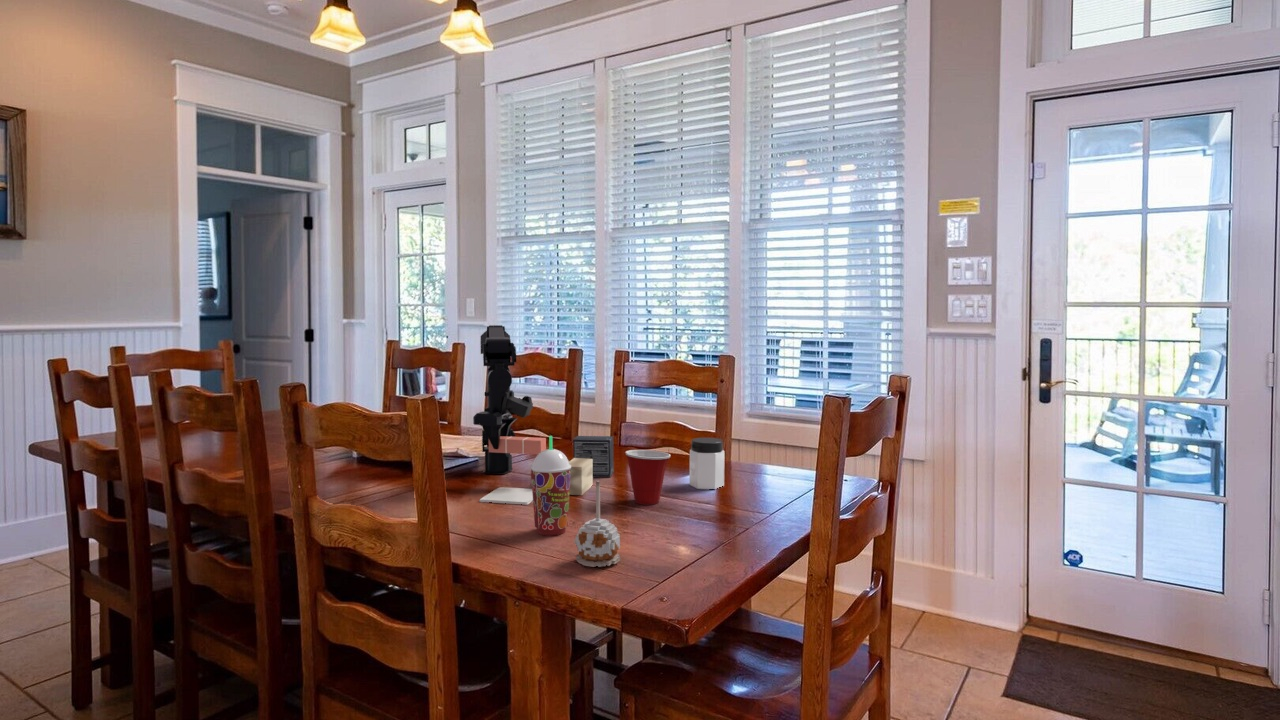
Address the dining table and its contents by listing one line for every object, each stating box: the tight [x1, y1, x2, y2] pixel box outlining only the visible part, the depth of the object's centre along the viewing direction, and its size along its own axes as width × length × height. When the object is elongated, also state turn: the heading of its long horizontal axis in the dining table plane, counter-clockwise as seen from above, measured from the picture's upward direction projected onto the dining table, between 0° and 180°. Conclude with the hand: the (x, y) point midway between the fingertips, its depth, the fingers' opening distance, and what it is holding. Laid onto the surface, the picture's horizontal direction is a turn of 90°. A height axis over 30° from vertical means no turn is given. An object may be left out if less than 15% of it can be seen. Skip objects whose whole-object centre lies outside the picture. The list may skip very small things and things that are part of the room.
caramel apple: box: [574, 480, 621, 568], centre depth 132 cm, size 8×8×15 cm
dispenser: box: [568, 458, 594, 496], centre depth 185 cm, size 11×10×7 cm
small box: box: [572, 435, 614, 478], centre depth 201 cm, size 11×6×10 cm, turn 84°
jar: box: [688, 437, 726, 490], centre depth 188 cm, size 9×8×12 cm
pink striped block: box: [489, 436, 547, 455], centre depth 187 cm, size 14×4×4 cm, turn 78°
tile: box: [479, 486, 533, 506], centre depth 177 cm, size 12×12×1 cm
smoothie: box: [529, 435, 571, 537], centre depth 150 cm, size 8×8×20 cm
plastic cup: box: [625, 449, 671, 506], centre depth 173 cm, size 11×11×12 cm
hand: (499, 447), depth 188 cm, fingers closed on pink striped block, 4 cm apart
